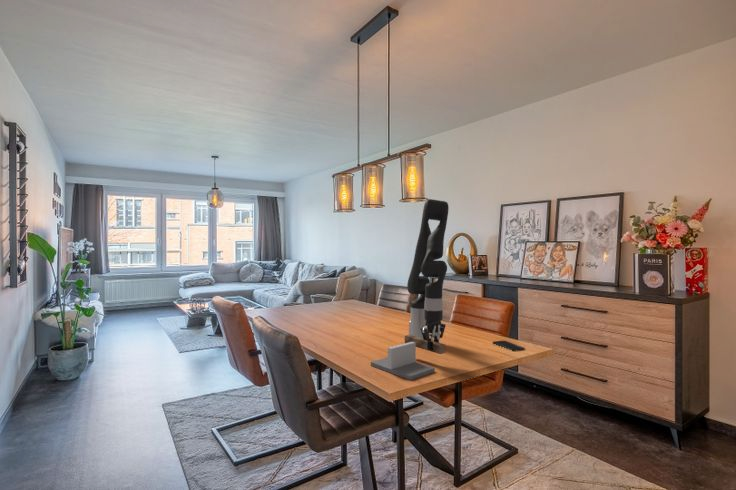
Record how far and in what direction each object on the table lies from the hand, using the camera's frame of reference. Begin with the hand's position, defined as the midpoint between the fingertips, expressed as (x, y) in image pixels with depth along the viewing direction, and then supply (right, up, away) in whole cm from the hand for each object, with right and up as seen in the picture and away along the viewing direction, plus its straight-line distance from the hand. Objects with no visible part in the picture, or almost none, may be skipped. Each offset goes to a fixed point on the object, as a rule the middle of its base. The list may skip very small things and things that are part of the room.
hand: (433, 349), depth 162 cm
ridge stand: (-13, -6, -6) cm, 16 cm away
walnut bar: (-3, 0, +4) cm, 5 cm away
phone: (+41, -7, +28) cm, 50 cm away
